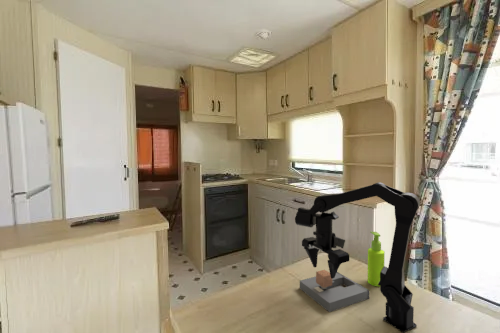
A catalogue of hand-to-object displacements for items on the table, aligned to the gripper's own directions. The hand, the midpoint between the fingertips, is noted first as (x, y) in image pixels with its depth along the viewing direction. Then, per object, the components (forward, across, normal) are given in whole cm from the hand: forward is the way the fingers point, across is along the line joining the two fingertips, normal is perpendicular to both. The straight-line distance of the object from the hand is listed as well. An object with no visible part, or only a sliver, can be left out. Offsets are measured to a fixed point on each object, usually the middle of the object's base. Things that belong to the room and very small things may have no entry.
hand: (323, 272), depth 88 cm
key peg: (+9, 0, 0) cm, 9 cm away
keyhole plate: (+9, 0, -4) cm, 9 cm away
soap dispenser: (+9, -1, -26) cm, 27 cm away
